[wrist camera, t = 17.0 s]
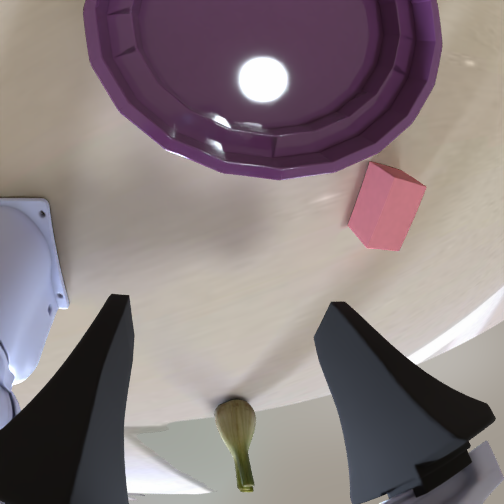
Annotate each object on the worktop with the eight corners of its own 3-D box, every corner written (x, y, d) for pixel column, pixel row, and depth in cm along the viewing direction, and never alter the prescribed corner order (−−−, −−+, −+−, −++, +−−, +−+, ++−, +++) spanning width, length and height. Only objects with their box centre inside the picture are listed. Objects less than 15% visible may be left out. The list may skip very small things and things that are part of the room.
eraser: (378, 229, 21) (399, 251, 18) (347, 225, 20) (366, 248, 18) (401, 170, 18) (426, 186, 16) (369, 160, 17) (394, 176, 15)
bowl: (365, 177, 18) (398, 202, 15) (94, 144, 14) (67, 165, 11) (412, -33, 9) (450, -42, 6) (152, -100, 5) (144, -130, 2)
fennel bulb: (226, 391, 30) (242, 488, 21) (262, 396, 32) (283, 484, 23) (206, 410, 33) (216, 496, 23) (239, 414, 35) (254, 494, 25)
